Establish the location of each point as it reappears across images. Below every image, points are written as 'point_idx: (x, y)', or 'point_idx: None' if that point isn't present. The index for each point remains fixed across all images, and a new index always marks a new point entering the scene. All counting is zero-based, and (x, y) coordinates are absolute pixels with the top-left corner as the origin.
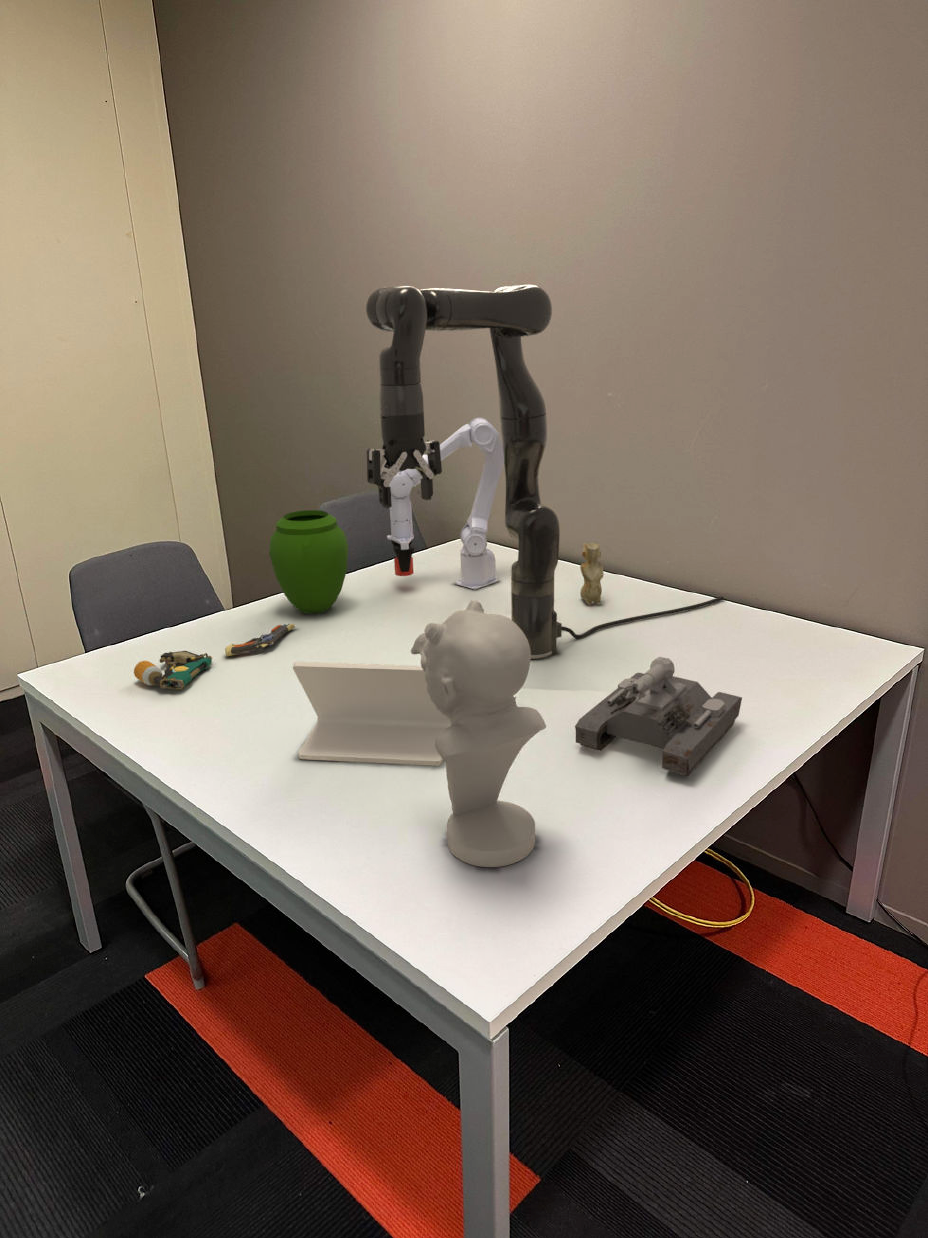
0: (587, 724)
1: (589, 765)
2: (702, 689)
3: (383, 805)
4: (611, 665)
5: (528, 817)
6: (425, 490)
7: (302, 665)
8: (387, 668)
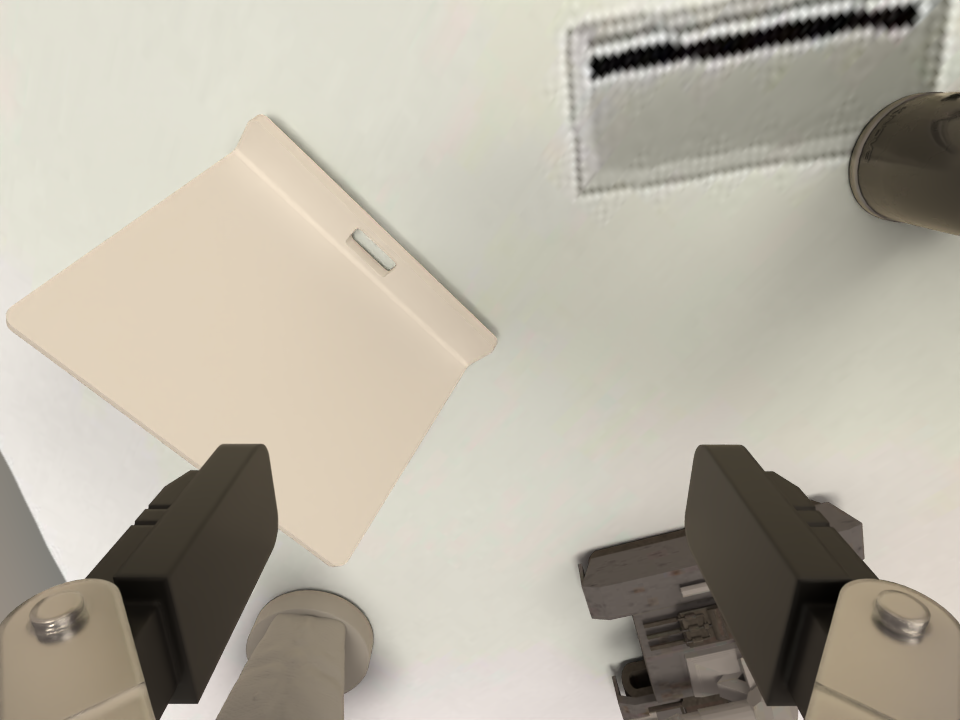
0: (597, 601)
1: (559, 589)
2: None
3: None
4: (945, 355)
5: (360, 672)
6: (719, 564)
7: (27, 342)
8: None
